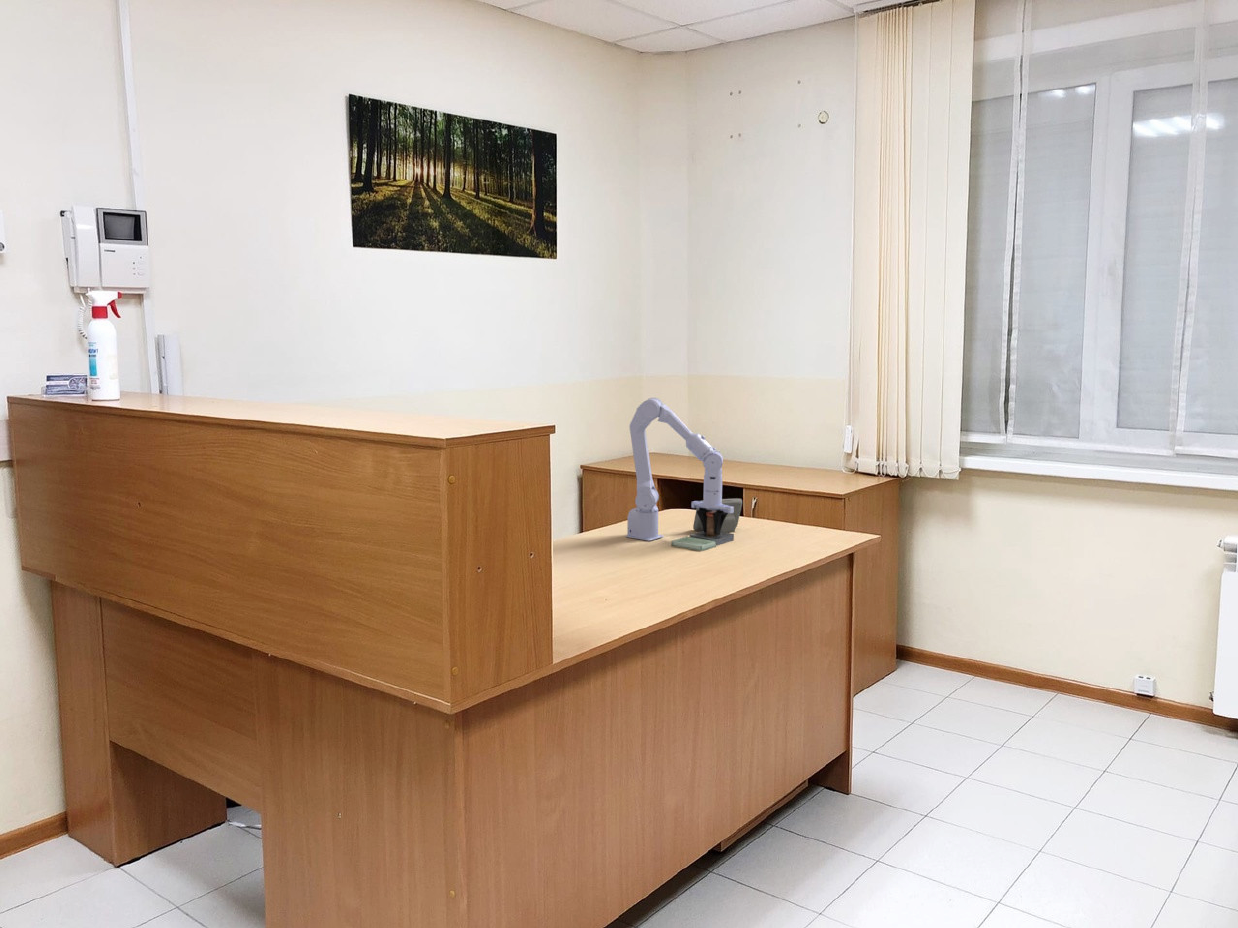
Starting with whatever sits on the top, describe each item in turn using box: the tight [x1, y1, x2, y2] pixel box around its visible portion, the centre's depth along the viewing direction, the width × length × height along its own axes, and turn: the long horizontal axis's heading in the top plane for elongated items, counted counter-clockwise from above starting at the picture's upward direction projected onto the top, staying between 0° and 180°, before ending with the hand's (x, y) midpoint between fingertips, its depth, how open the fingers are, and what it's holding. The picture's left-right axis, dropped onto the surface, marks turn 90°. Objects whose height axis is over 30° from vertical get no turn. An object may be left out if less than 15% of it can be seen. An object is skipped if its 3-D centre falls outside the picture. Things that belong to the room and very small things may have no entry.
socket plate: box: [689, 530, 735, 547], centre depth 310 cm, size 10×10×2 cm
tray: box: [671, 536, 717, 552], centre depth 303 cm, size 11×8×2 cm
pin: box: [706, 512, 717, 536], centre depth 310 cm, size 4×4×9 cm
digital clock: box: [692, 498, 743, 533], centre depth 325 cm, size 16×9×11 cm, turn 99°
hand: (711, 533), depth 310 cm, fingers closed on pin, 3 cm apart
